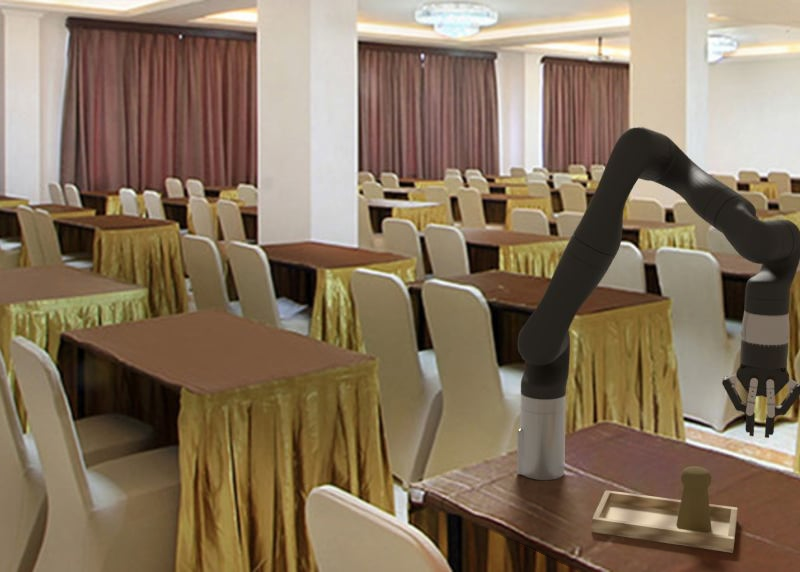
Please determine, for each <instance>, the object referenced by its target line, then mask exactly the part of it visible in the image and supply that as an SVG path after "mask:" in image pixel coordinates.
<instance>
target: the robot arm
mask: <svg viewBox="0 0 800 572" xmlns="http://www.w3.org/2000/svg"><path fill="white" fill-rule="evenodd" d="M639 179H640V180H643V181H647V182H654V183H656V184H659V185H661V186H663V187H665V188H668V189H669V190H671V191H673V192H674V193H676V194H677V195H679V196H680V197H681V198H682V199H683V200H684V201H685V203H687V204H688V206H689V207H690V209H692V211H694V213H695V214H696V215H697V216H698V217H700V218H701V219H702V220H704V221H705V222H706V223H707V224H709V225H710V226H712V227H713V228H714V229H716V230H717V231H718V232H720V233H722V234H723V235H724V237H725V239H726V240H727V241H728V243H729V244H730V245H731V246H732V248H733V249H734V250H735V252H737V253H738V255H740V256H741V257H742V258H743V259H745V260H746V261H749V262H751V263H752V264H760V265H761V267H760V270H759V272H758V273H757V274H756V275H754V276H752V277H751V278H749V279H748V280H747V282H746V286H745V293H744V311H743V317H742V324H741V330H740V336H741V337H740V354H739V355H740V356H739V359H740V360H739V367H737V370H736V373H734V374H732V375H730V376H728V375H727V376H726V375H725V376H724V377H723V378H722V382H721V384H722V386H723V388H724V389H725V392H726V393H727V396H728V397H729V399H730V401H731V403H732V405H733V407H734V409H735V410H736V411H737V412H742V413H744V415H745V429H744V430H745V432H746V433H749V437H754V436H755V435H754V434H755V421H756V412H755V403H756V397H764V398H766V412H767V413H765V427H764V429H765V430H764V438H766V439H769V438H770V436H773V435H774V432H775V419H776V417H778V416H785V415H786V414H787V413H788V412H789V410H790V409H791V407H792V406H793V404H794V403H796V401H797V400H798V398H799V397H800V381H798V382H797V381H795V379H794V380H793V379H792V378H790V373H789V372H788V358H789V357H788V356H789V343H790V342H789V340H790V316H789V314H790V300H791V299H790V297H791V287H792V284H793V282H794V280H795V276H796V274H797V270H798V267H799V264H800V228H799V226H798V225H797V224H796V223H795V222H793V221H791V220H789V219H784V218H783V219H782V218H781V219H772V220H761V219H759V218H756V216H757V210H756V207H755V206H754V204H753V203H752V202H751V201H750V200H748V199H747V198H746V197H745V196H742V194H740V193H739V192H737V191H736V190H734V189H733V188H731V187H729V186H728V185H726V184H725V183H724V182H722V181H720V180H719V179H717V178H716V177H714V176H712V175H711V174H709V173H708V172H706V171H705V170H704V169H702V168H701V167H700V166H698V165H697V163H695V162H694V161H693V160H692V159H691V158H690V157H689V156H688V155H687V154H686V153H685V152H684V151H683V150H682V149H681V148H680V147H679V146H678V145H677V144H676V143H675V142H674V140H672V139H671V138H670V137H669V136H667V135H665V134H663V133H662V132H658V131H655V130H652V129H651V128H647V127H644V126H632V127H630V128H628V129H627V130H625V131H624V132H622V134H620V136H619V138H618V139H617V141H616V142H615V144H614V145H613V148H612V151H611V152H610V155H609V157H608V159H607V162H606V165H605V167H604V169H603V173H602V174H601V178H600V179H599V181H598V185H597V187H596V189H595V191H594V193H593V195H592V197H591V198H590V202H589V203H588V205H587V207H586V209H585V211H584V213H583V215H582V217H581V220H580V221H579V222H578V225H577V226H576V227H575V230H574V231H573V234H572V235H571V237H570V239H569V241H568V243H567V245H566V246H565V248H564V250H563V253H562V255H561V257H560V259H559V261H558V264H557V266H556V267H555V270H554V272H553V274H552V277H551V279H550V281H549V283H548V286H547V288H546V291H545V293H544V294H543V297H542V299H541V300H540V301H539V303H538V305H537V306H536V308H535V309H534V311H533V312H532V314H531V315H530V317H529V318H528V319H527V321H526V322H525V324H524V325H523V326H522V328H521V330H520V331H519V333H518V337H517V349H518V352H519V355H520V357H521V358H522V360H523V361H525V365H524V370H523V375H522V377H521V380H520V418H519V421H520V423H519V424H520V426H519V428H518V430H517V440H516V441H517V444H516V445H517V448H516V449H517V451H516V452H517V453H516V458H517V459H516V461H517V462H516V474H517V475H522V476H523V477H526V478H528V479H531V480H538V481H550V480H556V479H560V478H561V477H563V476H564V475H565V454H566V453H565V452H566V451H565V449H566V447H565V445H566V401H567V400H566V399H567V397H566V396H567V384H568V380H569V374H570V358H571V357H570V354H571V337H570V330H569V329H570V327H571V324H572V322H573V320H574V319H575V317H576V315H577V314H578V313H579V310H580V309H581V308H582V306H583V305H584V303H585V302H586V301H587V300H588V298H589V297H590V296H591V295H592V294H593V292H594V291H595V289H596V288H597V287H598V285H599V284H600V282H601V281H602V280H603V278H604V277H605V275H606V273H607V271H608V270H609V268H610V266H611V265H612V263H613V262H614V259H615V258H616V256H617V254H618V252H619V250H620V247H621V243H622V238H623V227H624V225H623V222H624V221H623V219H624V210H625V206H626V203H627V200H628V198H629V196H630V194H631V193H632V191H633V189H634V187H635V185H636V183H637V181H638V180H639ZM737 381H739V382H740V385H741V387H743V388H744V390H745V391H746V393H747V394H748V395H747V402H746V403H745V402H744V401H743V400H742V398H741V396H740V395H739V393H738V392H739V391H737V389H736V388H737V386H738V382H737ZM786 385H787V387H786V388H787V393H788V394H787V395H786V396H785V398H784V399H783V400H782V402H781V403H780V404H779V405H776V396H777V395H778V394H779V393H780V392H781V391H782V389H783V388H784V387H785V386H786Z"/></svg>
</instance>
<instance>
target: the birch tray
mask: <svg viewBox="0 0 800 572" xmlns="http://www.w3.org/2000/svg"><path fill="white" fill-rule="evenodd" d="M680 503H681V499H675V498H674V499H673V498H667V497H660V496H652V495H645V494H644V495H643V494H638V493H637V494H636V493H630V492H621V491H615V490H614V491H613V490H607V489H606V490H605V491H604V493H603V495H602V497H601V500H600V501H599V503H598V506H597V508H596V509H595V511H594V514H593V516H592V519H591V520H592V521H591V532H592V533H597V534H604V535H609V536H611V535H612V536H618V537H624V538H625V537H626V538H630V539H638V540H642V541H643V540H644V541H649V542H650V541H652V542H658V543H662V544H663V543H665V544H670V545H671V544H673V545H676V546H677V545H679V546H683V547H691V548H697V549H698V548H699V549H704V550H705V549H706V550H709V551H711V550H712V551H719V552H723V553H724V552H725V553H731V554H734V547H735V538H736V530H737V521H738V507H737V506H736V507H735V506H728V505H719V504H713V503H709V508H710V519H711V531H710V532H708V533H704V532H697V531H690V530H683V529H679V528H677V526H676V524H677V519H678V514H679V508H680Z"/></svg>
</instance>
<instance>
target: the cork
mask: <svg viewBox="0 0 800 572" xmlns="http://www.w3.org/2000/svg"><path fill="white" fill-rule="evenodd" d="M680 481H681V483H682V485H683V487H682V488H683V489H682V492H681V499H680V500H681V503H680V508H679V514H678V519H677V524H676V526H677V528H679V529H683V530H690V531H697V532H704V533H708V532H710V531H711V519H710V508H709V504H710V498H709V489H708V488H709V487H710V486H711V483H712V475H711V473H710V471H709V470H708V469H706V468H705V467H701V466H698V465H696V466H695V465H694V466H692V465H691V466H687V467H684V468H683V469H682V470H681V474H680Z"/></svg>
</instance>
